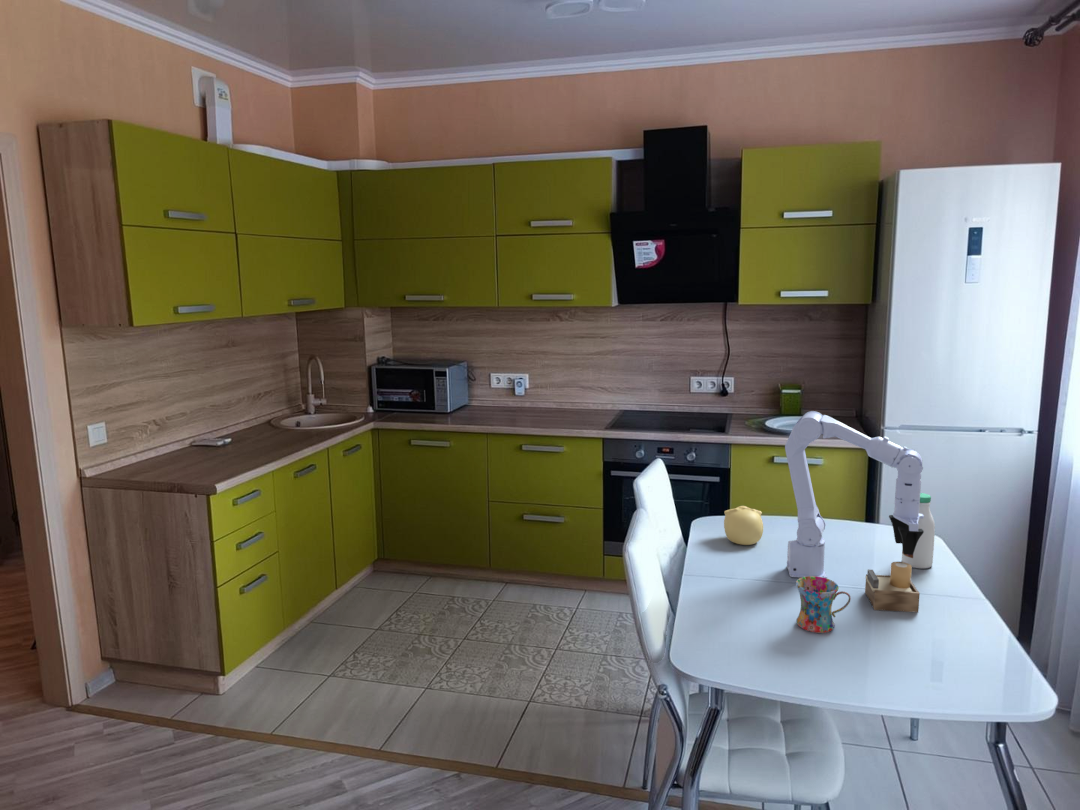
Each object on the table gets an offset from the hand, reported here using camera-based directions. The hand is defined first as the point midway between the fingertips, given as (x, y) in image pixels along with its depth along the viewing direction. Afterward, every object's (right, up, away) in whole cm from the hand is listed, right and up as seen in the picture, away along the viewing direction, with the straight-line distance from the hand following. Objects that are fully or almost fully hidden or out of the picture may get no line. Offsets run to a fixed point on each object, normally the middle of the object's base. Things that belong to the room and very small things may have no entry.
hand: (904, 548), depth 197 cm
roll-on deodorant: (-5, -7, -8) cm, 12 cm away
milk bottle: (+11, -7, +16) cm, 21 cm away
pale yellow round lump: (-32, -5, +36) cm, 48 cm away
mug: (-28, -15, -19) cm, 37 cm away
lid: (-7, -8, -7) cm, 13 cm away
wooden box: (-7, -12, -7) cm, 15 cm away
